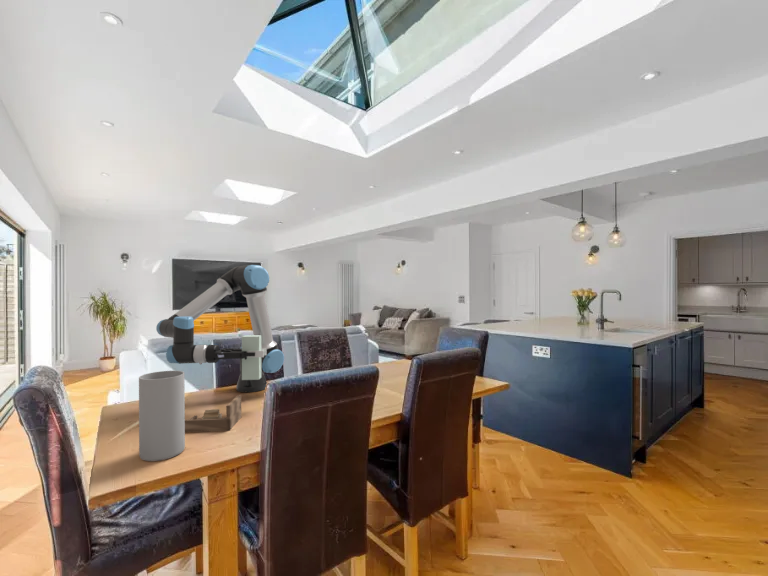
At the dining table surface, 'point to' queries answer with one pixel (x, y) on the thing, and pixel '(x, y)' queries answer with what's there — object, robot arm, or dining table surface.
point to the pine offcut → (211, 413)
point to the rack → (217, 424)
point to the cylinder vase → (161, 415)
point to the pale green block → (253, 364)
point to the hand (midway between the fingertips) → (264, 352)
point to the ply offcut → (213, 417)
